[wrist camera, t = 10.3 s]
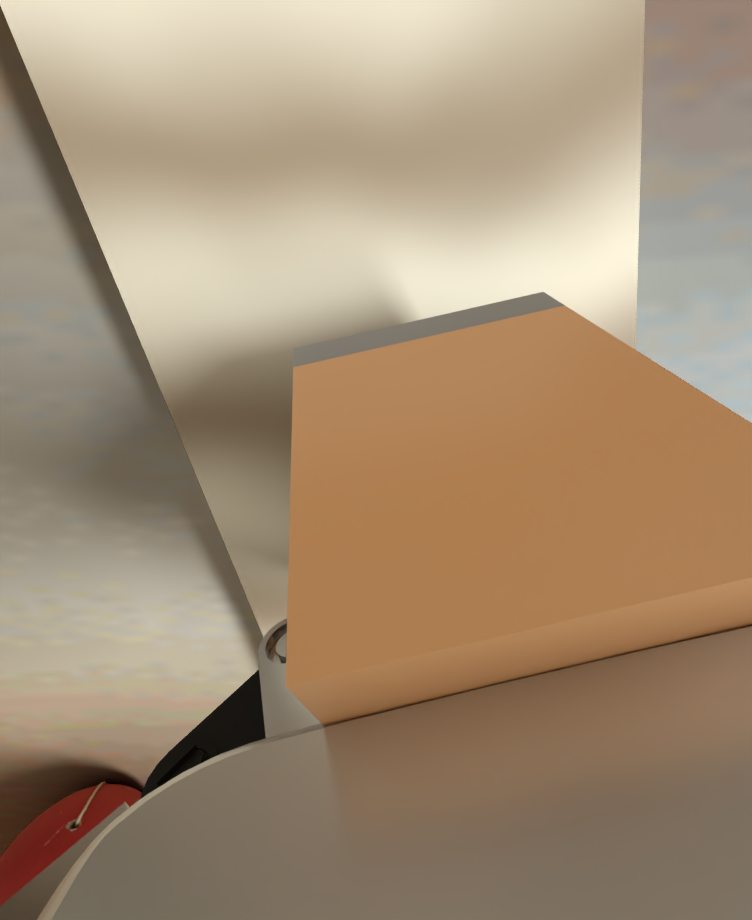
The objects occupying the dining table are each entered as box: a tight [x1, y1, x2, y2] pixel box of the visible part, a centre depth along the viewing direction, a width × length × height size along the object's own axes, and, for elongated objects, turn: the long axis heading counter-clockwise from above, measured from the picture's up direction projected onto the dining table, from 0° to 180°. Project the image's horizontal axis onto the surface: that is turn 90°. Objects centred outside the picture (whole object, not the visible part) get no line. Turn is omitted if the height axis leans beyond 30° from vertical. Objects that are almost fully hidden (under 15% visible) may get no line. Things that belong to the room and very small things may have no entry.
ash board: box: [0, 0, 645, 637], centre depth 11 cm, size 23×13×2 cm, turn 12°
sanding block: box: [286, 292, 752, 726], centre depth 7 cm, size 7×5×6 cm
